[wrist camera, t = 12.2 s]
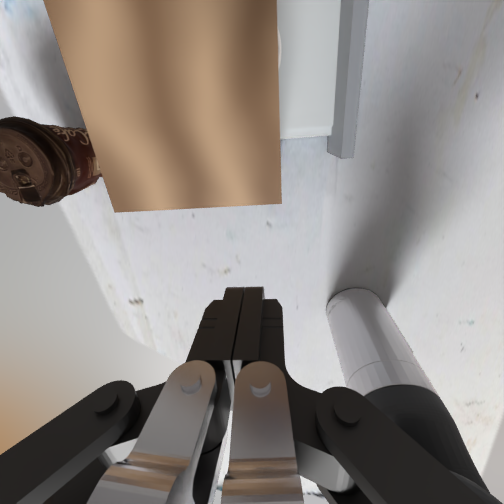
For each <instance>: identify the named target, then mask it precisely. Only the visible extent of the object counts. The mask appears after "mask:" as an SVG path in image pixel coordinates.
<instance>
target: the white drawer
mask: <svg viewBox="0 0 504 504" xmlns="http://www.w3.org/2000/svg"><path fill="white" fill-rule="evenodd" d="M368 7H369V0H277V26H278V29H279V33H280V38H281V62H280V67H279V113H280V139H292V138H305V137H317V136H328V145H327V152H328V153H330V154H332V155H334V156H336V157H339V158H341V159H345V158H353V157H354V147H355V137H356V127H357V117H358V107H359V97H360V87H361V77H362V67H363V57H364V47H365V37H366V27H367V17H368Z"/></svg>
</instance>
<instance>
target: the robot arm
mask: <svg viewBox="0 0 504 504" xmlns="http://www.w3.org/2000/svg"><path fill="white" fill-rule="evenodd" d="M326 314H327V318H328V322H329V325H330V329H331V333H332V336H333V340H334V344H335V347H336V351H337V354H338V358H339V361H340V365H341V368H342V372H343V376H344V379H345V383H346V386H347V388H346V387H332V388H329V389H327V390H325V391H324V392H323V393H319V392H316V391H313V390H310V389H308V388H305V387H303V386H301V385H299V384H298V383H297V382H295V381H294V380H293V379H292V378H291V377H290V375H289V374H288V372H287V370H286V367H285V356H284V334H283V312H282V306H281V305H280V303H279V302H278V300H277V299H265V298H264V287H227V288H226V291H225V294H224V297H223V300H213V301H212V302H211V304H210V305H209V306H208V307H207V308H206V309H205V312H204V314H203V317H202V320H201V322H200V325H199V329H198V330H197V333H196V336H195V338H194V341H193V344H192V346H191V349H190V352H189V354H188V357H187V360H186V362H185V363H184V364H182V365H180V366H179V367H178V368H176V369H175V370H174V371H173V372H172V373H171V375H170V376H169V378H168V380H167V381H166V382H164V383H162V384H159V385H156V386H152V387H149V388H145V389H142V390H138V391H135V389H134V387H133V385H132V384H131V383H129V382H127V381H114V382H110V383H108V384H106V385H103V386H102V387H100V388H98V389H97V390H95V391H94V392H92V393H91V394H89V395H88V396H87V397H85V398H83V399H82V400H81V401H79V402H78V403H76V404H75V405H73V406H72V407H70V408H69V409H67V410H66V411H64V412H63V413H62V414H60V415H59V416H57V417H56V418H54V419H53V420H51V421H50V422H48V423H47V424H45V425H44V426H42V427H41V428H40V429H38V430H36V431H35V432H33V433H32V434H30V435H29V436H28V437H26V438H25V439H23V440H22V441H20V442H19V443H17V444H16V445H14V446H13V447H11V448H10V449H8V450H7V451H5V452H4V453H2V454H1V455H0V504H213V501H214V497H215V492H216V487H217V483H218V478H219V474H220V469H221V464H222V460H223V455H224V451H225V446H226V441H227V425H228V419H229V412H230V410H233V416H232V430H231V444H230V457H229V467H228V472H227V474H226V475H225V478H224V483H223V489H222V497H221V504H304V499H303V492H302V486H301V480H300V476H302V477H304V478H306V479H309V480H311V481H313V482H315V483H316V484H317V486H318V488H319V490H320V491H321V493H322V494H323V495H324V497H325V498H326V500H327V501H328V502H329V504H502V503H501V502H500V501H499V500H498V499H496V498H495V497H494V496H493V495H491V494H490V492H489V490H488V489H487V487H486V485H485V483H484V482H483V480H482V478H481V476H480V475H479V473H478V471H477V469H476V467H475V465H474V463H473V461H472V459H471V457H470V455H469V453H468V451H467V448H466V446H465V444H464V442H463V440H462V437H461V435H460V433H459V430H458V428H457V426H456V424H455V422H454V420H453V418H452V417H451V415H450V413H449V412H448V410H447V408H446V407H445V405H444V403H443V402H442V400H441V399H440V397H439V395H438V394H437V392H436V391H435V389H434V387H433V386H432V384H431V382H430V381H429V379H428V377H427V376H426V374H425V373H424V371H423V370H422V368H421V366H420V365H419V363H418V361H417V360H416V358H415V356H414V355H413V351H412V349H411V348H410V346H409V345H408V343H407V341H406V340H405V338H404V336H403V335H402V333H401V332H400V330H399V328H398V327H397V325H396V323H395V322H394V320H393V319H392V317H391V315H390V314H389V312H388V310H387V309H386V308H385V307H384V306H383V304H382V302H381V301H380V299H379V298H378V296H377V295H376V294H374V293H373V292H371V291H369V290H366V289H361V288H352V289H347V290H344V291H342V292H340V293H338V294H337V295H335V296H334V297H333V298H332V299H331V300H330V302H329V303H328V305H327V309H326Z"/></svg>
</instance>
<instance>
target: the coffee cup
mask: <svg viewBox="0 0 504 504" xmlns="http://www.w3.org/2000/svg"><path fill="white" fill-rule="evenodd" d="M99 177H103V176H102V173H101V170H100V167H99V164H98V161H97V158H96V155H95V152H94V149H93V146H92V143H91V140H90V137H89V134H88V131H87V129H82V128H76V129H75V128H70V127H68V128H64V127H59V126H56V125H44V124H42V125H41V124H38V123H36V122H34V121H32V120H30V119H25V118H20V117H8V118H4V119H1V120H0V192H2V193H5V194H6V195H7V197H9V198H11V199H13V200H15V201H19V202H20V203H25V204H29V205H34V206H37V207H39V206H44V204H45V205H51V204H53V203H56V202H59V201H60V200H61V199H63V198H64V197H65V196H67V195H72V194H75V193H77V192H79V191H81V190H83V189H85V188H87V187H89V186H90V185H93V184H95V183H96V182H97V180H98V179H99Z"/></svg>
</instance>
